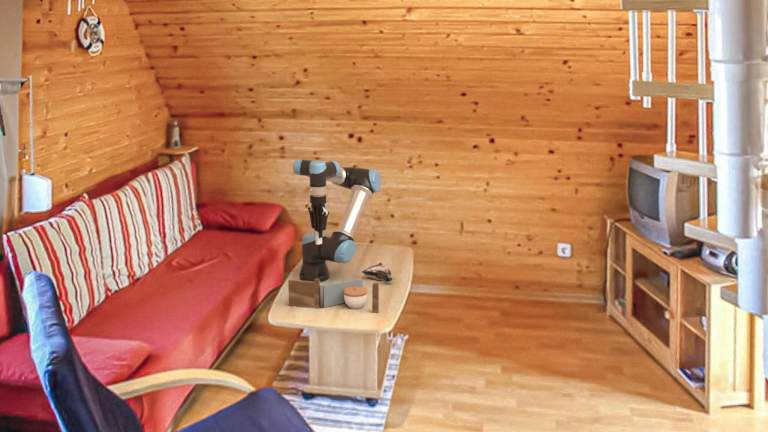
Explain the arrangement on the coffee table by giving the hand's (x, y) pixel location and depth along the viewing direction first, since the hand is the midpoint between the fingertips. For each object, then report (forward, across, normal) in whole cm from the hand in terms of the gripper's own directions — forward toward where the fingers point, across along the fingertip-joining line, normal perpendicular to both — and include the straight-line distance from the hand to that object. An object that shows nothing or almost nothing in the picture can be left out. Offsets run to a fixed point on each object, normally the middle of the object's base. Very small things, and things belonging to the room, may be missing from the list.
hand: (318, 243), depth 331 cm
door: (+24, +18, -2) cm, 30 cm away
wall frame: (+24, +20, -8) cm, 32 cm away
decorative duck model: (+25, +8, +31) cm, 41 cm away
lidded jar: (+25, +24, +1) cm, 35 cm away
